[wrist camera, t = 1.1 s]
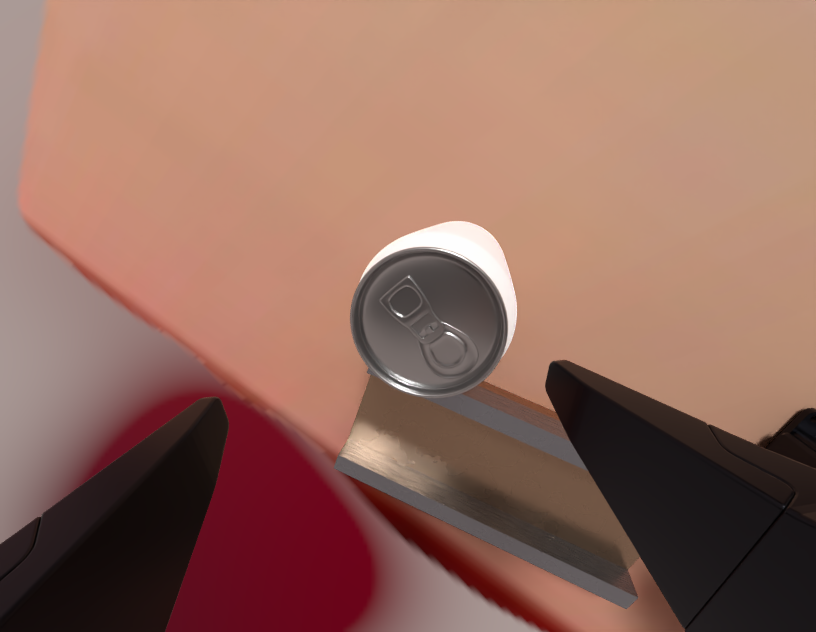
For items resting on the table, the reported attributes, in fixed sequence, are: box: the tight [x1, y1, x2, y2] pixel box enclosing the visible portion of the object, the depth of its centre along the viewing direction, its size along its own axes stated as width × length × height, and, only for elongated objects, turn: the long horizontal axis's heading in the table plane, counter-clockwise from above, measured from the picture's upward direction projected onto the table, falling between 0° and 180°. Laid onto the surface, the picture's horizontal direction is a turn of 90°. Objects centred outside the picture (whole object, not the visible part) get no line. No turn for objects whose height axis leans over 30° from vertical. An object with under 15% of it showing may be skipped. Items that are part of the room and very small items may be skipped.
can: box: [350, 221, 517, 398], centre depth 17 cm, size 6×6×12 cm
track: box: [334, 368, 640, 609], centre depth 25 cm, size 24×11×3 cm, turn 70°
